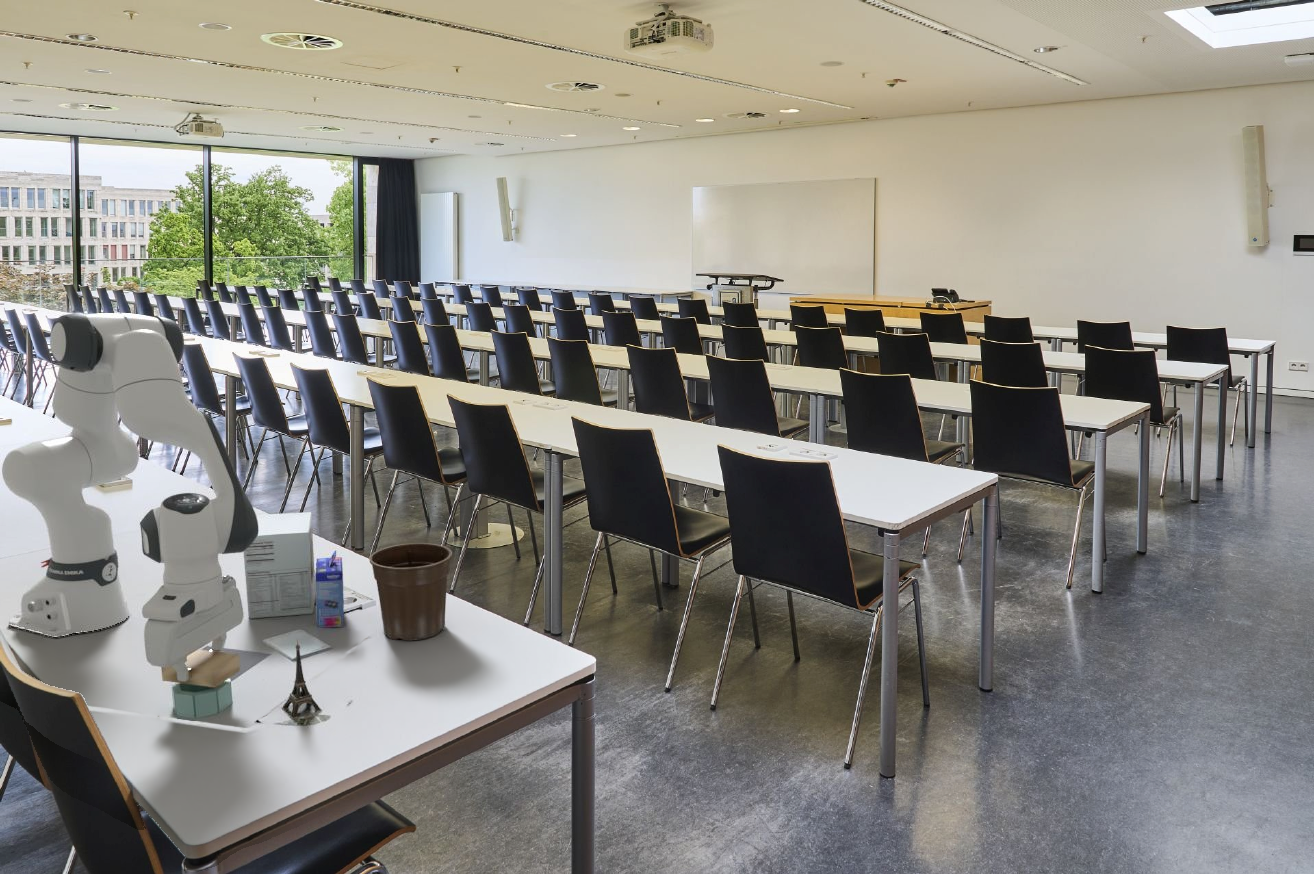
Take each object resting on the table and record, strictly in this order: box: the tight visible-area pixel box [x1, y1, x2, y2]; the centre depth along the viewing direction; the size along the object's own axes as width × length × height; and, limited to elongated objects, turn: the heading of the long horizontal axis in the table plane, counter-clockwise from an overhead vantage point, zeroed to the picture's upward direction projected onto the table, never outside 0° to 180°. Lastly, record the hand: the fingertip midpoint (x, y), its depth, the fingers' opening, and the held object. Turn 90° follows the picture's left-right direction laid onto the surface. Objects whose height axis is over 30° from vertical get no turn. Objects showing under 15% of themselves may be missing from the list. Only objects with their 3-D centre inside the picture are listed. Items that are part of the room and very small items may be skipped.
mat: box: [200, 645, 272, 682], centre depth 184 cm, size 14×12×1 cm
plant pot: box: [368, 542, 453, 641], centre depth 201 cm, size 16×16×16 cm
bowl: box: [171, 678, 233, 722], centre depth 168 cm, size 9×9×4 cm
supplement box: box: [243, 511, 316, 620], centre depth 214 cm, size 17×13×18 cm
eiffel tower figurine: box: [254, 639, 353, 727], centre depth 167 cm, size 15×10×13 cm
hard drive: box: [262, 629, 333, 662], centre depth 193 cm, size 2×8×12 cm
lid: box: [160, 649, 240, 687], centre depth 167 cm, size 10×6×3 cm, turn 77°
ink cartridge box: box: [315, 550, 345, 629], centre depth 205 cm, size 10×6×14 cm, turn 18°
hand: (201, 669), depth 167 cm, fingers closed on lid, 6 cm apart
